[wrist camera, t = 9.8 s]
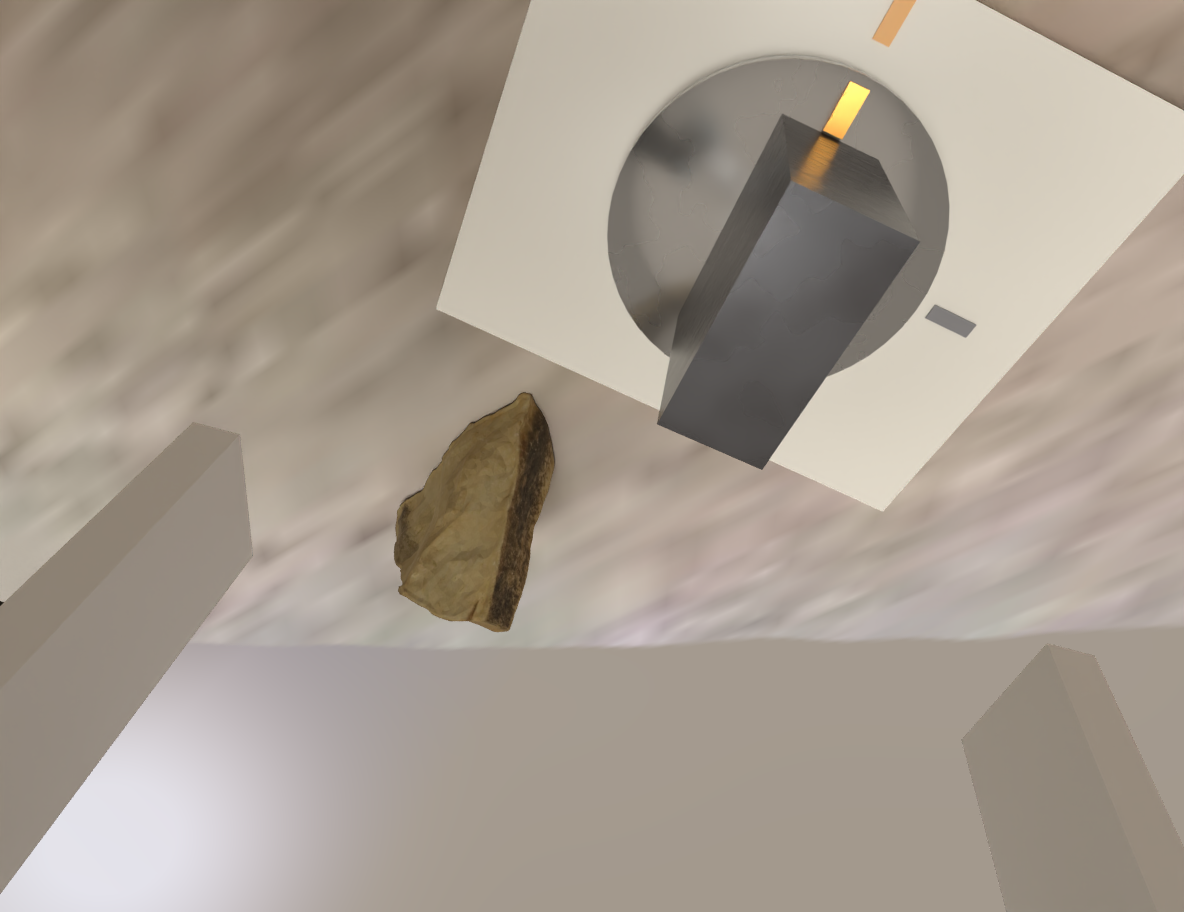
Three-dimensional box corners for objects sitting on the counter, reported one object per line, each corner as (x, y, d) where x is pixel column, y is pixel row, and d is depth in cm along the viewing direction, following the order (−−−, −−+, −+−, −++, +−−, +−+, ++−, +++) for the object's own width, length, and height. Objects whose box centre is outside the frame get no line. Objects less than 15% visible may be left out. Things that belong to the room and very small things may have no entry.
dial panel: (447, 294, 34) (435, 309, 33) (601, -197, 23) (592, -203, 22) (878, 491, 36) (882, 512, 35) (1200, 120, 25) (1223, 131, 24)
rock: (412, 599, 43) (575, 611, 39) (300, 624, 35) (491, 642, 31) (414, 407, 43) (576, 400, 39) (304, 389, 35) (493, 378, 31)
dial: (825, 418, 32) (846, 562, 25) (567, 303, 31) (511, 418, 24) (1020, 148, 25) (1127, 240, 18) (695, -11, 24) (670, 19, 17)
